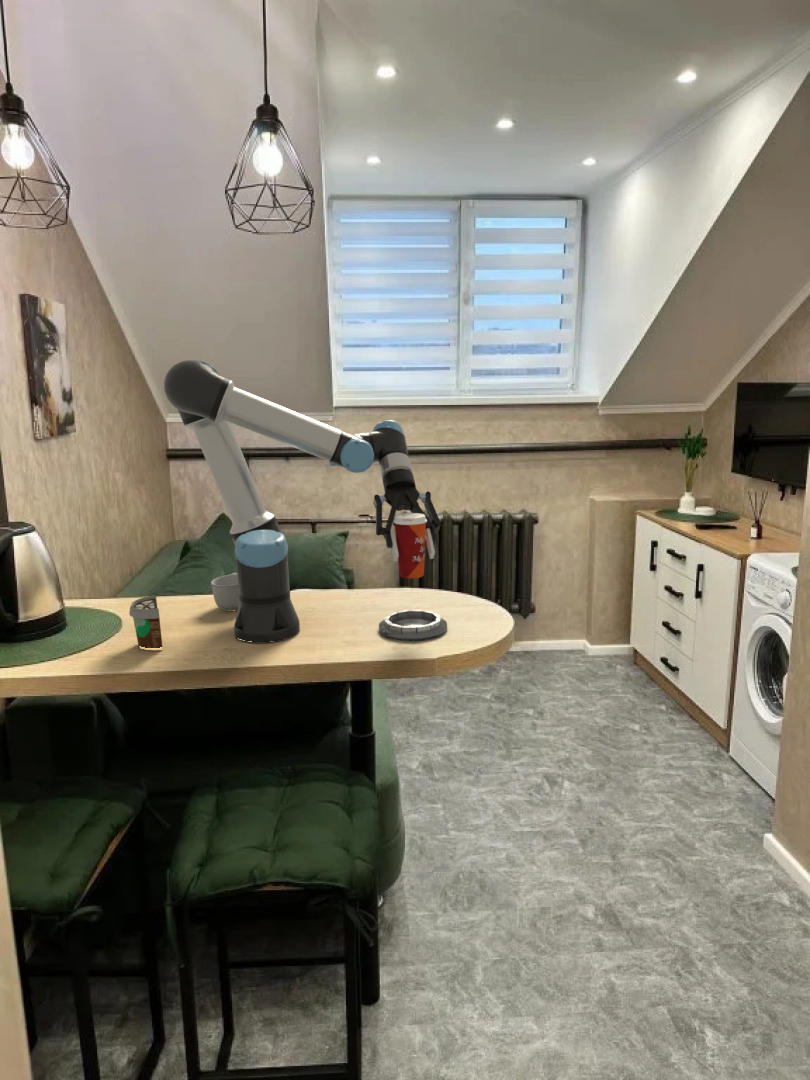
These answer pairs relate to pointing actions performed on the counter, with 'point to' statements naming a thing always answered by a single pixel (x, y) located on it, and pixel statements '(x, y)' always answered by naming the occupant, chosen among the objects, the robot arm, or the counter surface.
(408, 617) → the rosette plate
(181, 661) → the counter surface
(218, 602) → the teacup
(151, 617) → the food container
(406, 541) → the paper cup
